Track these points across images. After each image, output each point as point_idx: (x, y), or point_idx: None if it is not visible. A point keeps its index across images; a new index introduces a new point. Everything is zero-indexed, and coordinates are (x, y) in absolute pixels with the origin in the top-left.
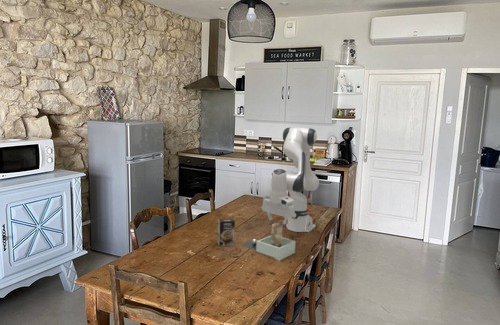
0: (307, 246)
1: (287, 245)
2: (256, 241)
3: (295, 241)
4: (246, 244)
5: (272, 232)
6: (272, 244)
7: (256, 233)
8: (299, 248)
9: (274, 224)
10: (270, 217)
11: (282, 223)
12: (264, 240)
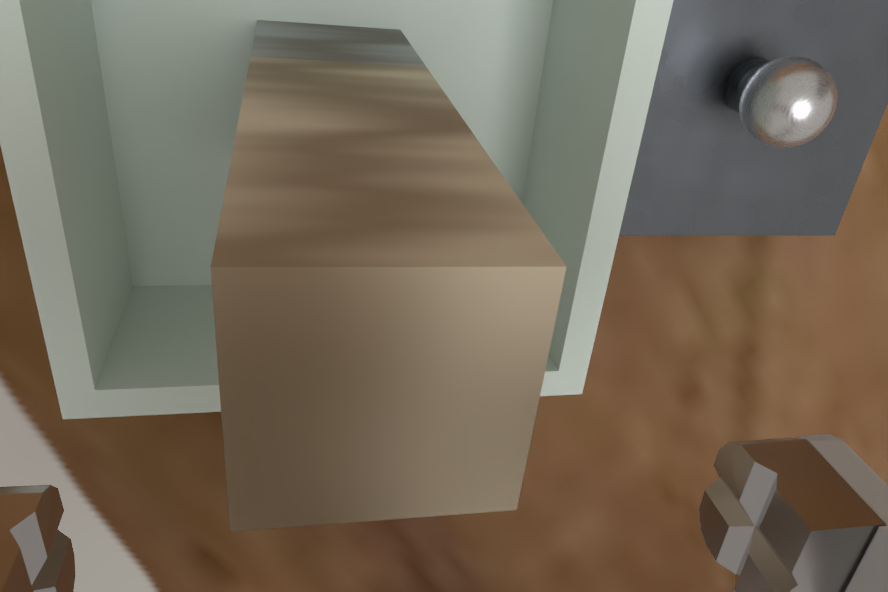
0: (151, 553)
1: (3, 133)
2: (751, 105)
3: (64, 413)
4: (869, 10)
5: (445, 147)
6: (380, 58)
7: (852, 445)
8: (178, 449)
9: (475, 336)
10: (840, 542)
11: (44, 486)
12: (602, 90)
